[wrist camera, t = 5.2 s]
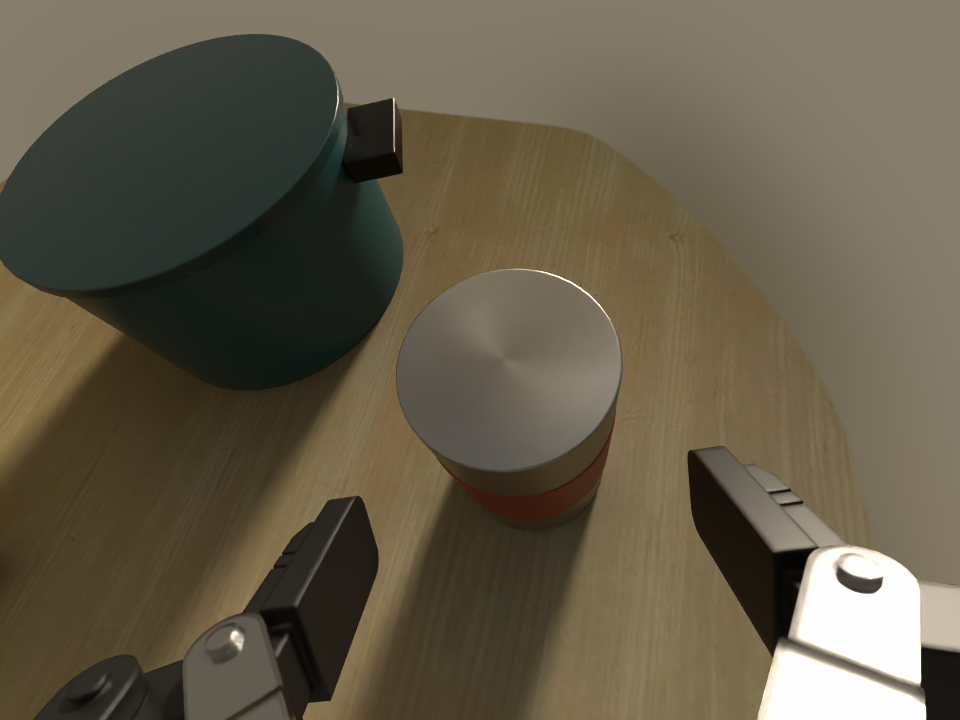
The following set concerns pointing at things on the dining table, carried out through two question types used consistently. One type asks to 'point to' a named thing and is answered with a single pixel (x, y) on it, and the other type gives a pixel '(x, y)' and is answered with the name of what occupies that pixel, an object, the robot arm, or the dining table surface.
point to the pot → (216, 210)
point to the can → (515, 392)
